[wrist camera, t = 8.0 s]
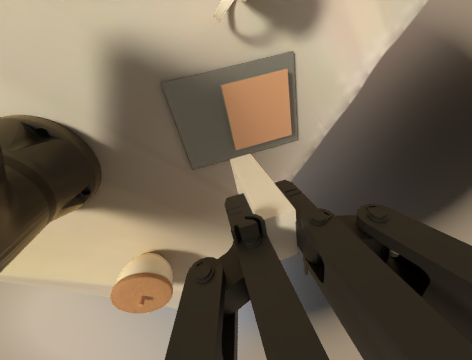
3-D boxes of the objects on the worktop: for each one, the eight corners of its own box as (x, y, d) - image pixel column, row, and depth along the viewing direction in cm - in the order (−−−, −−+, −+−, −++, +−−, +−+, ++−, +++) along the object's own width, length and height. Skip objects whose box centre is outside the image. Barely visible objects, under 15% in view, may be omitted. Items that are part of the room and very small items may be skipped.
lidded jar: (133, 283, 44) (120, 328, 36) (115, 251, 39) (95, 296, 31) (180, 272, 46) (177, 313, 38) (168, 239, 41) (163, 280, 32)
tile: (236, 150, 32) (291, 134, 33) (221, 85, 27) (287, 68, 28) (233, 147, 33) (287, 132, 34) (219, 84, 28) (282, 69, 29)
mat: (192, 168, 34) (192, 169, 34) (161, 83, 27) (160, 83, 27) (296, 139, 36) (297, 139, 35) (291, 51, 29) (293, 51, 28)
